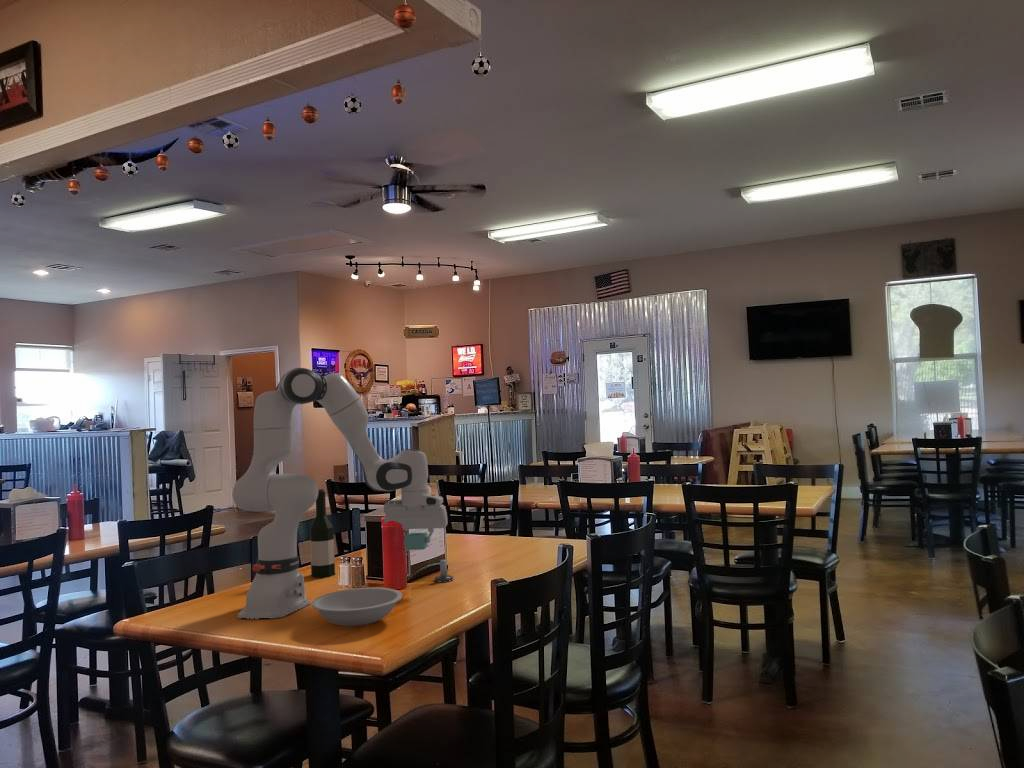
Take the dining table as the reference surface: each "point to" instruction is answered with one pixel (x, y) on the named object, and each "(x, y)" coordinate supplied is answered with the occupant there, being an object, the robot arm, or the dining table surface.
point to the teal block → (415, 541)
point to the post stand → (443, 572)
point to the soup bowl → (357, 605)
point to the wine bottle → (322, 541)
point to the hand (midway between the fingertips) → (416, 542)
